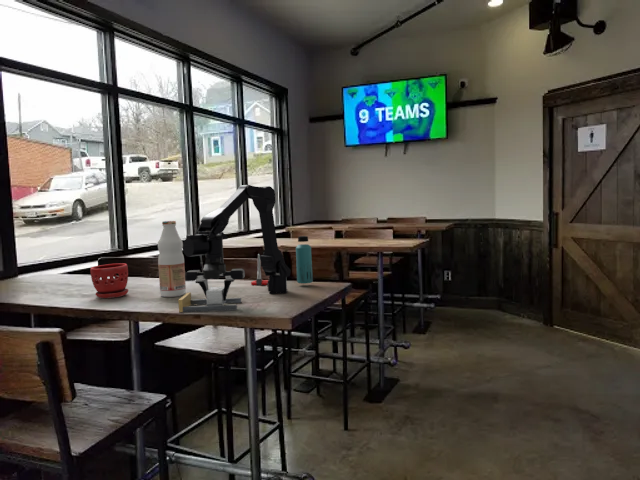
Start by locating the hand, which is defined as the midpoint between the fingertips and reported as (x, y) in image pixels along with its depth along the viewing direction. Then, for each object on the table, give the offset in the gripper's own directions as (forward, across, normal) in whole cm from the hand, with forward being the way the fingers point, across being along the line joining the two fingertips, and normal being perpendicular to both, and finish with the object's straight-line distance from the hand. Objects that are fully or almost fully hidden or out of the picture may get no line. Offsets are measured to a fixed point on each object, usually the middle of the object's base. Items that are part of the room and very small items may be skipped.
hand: (216, 300), depth 166 cm
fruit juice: (+2, -21, +25) cm, 33 cm away
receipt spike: (+2, +12, +44) cm, 46 cm away
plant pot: (+2, -45, +27) cm, 52 cm away
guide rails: (+2, -2, 0) cm, 3 cm away
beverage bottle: (+2, +30, +34) cm, 45 cm away
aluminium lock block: (+1, 0, 0) cm, 1 cm away
